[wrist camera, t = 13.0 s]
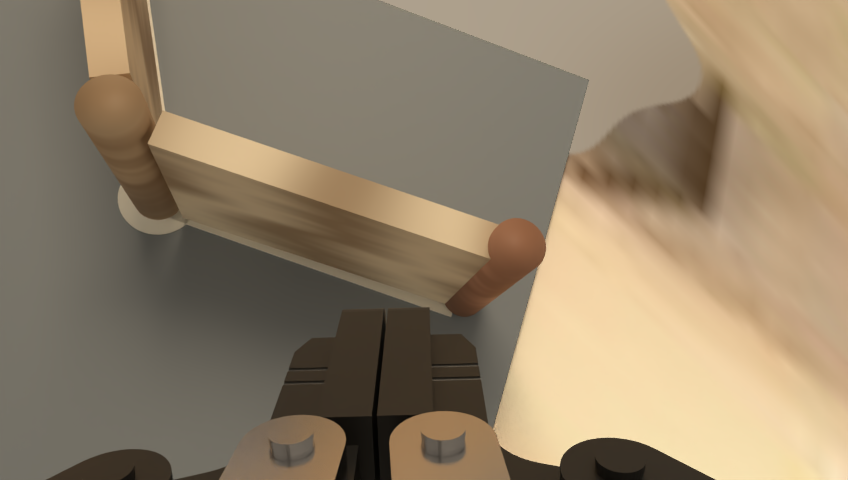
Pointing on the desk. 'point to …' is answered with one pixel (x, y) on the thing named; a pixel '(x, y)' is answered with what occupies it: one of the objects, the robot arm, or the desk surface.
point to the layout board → (227, 253)
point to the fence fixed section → (124, 100)
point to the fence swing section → (341, 217)
